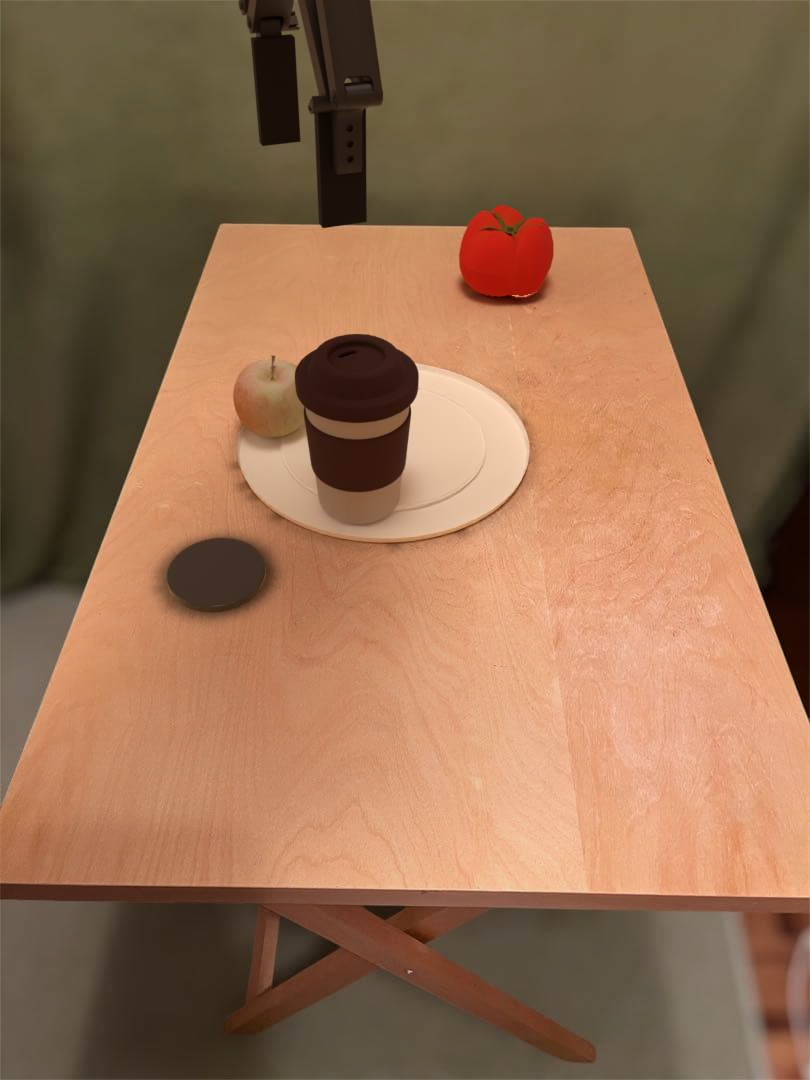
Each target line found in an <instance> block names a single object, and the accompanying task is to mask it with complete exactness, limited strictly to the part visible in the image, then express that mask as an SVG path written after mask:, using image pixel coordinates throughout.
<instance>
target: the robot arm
mask: <svg viewBox="0 0 810 1080" xmlns="http://www.w3.org/2000/svg"><path fill="white" fill-rule="evenodd" d="M294 3H295V0H238V9H239V11H240V12H241V15H242V16H246V27H247V29H248V31H249V33H250V35H253V34H254V35H255V36H253V37H251V36H250V46H251V59H252V70H253V81H254V82H253V83H254V95H255V103H256V104H255V105H256V106H255V107H256V118H257V131H258V141H259V144H260V145H261V146H262V147H267V146H276V145H283V144H285V145H286V144H294V143H300V142H301V126H300V125H301V123H300V108H299V106H300V105H299V89H298V87H299V86H298V71H297V69H298V68H297V51H296V37H295V36H294V35H293V34H292V33H289V34H283V33H282V32H292V31H293V32H294V31H299V30H300V29H301V28H300V26H299V20H298V16H297V14H296V11H295V10H293V8H294ZM297 3H298V7H299V12H300V17H301V21H302V25H303V30H304V34H305V39H306V44H307V48H308V53H309V57H310V62H311V66H312V71H313V75H314V79H315V84H316V88H317V93H318V95H311V98H310V99H309V102H308V105H307V110H308V112H309V114H310V115H313V119H314V121H313V122H314V140H315V141H314V143H315V164H316V187H317V188H316V189H317V190H316V191H317V210H318V224H319V226H321V228H322V229H328V228H335V227H342V226H350V225H356V224H363V223H367V220H368V217H367V216H368V215H367V214H368V212H367V208H368V205H367V204H368V203H367V202H368V201H367V196H368V195H367V109H369V108H373V107H381V106H382V104H383V101H384V89H383V85H382V78H381V77H382V76H381V69H380V63H379V55H378V48H377V41H376V35H375V34H376V33H375V27H374V20H373V18H374V17H373V13H372V5H371V4H372V3H371V0H297ZM347 79H349V80H350V82H346V80H347Z"/></svg>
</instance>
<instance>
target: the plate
mask: <svg viewBox="0 0 810 1080" xmlns="http://www.w3.org/2000/svg"><path fill="white" fill-rule="evenodd" d="M414 363H415V365H416V366H417V369H418V372H419V384H418V393H417V396H416V398H415V400H414V401H413V403H412V404H411V405H410V406H411V421H410V429H409V438H408V447H407V456H406V464H405V468H404V471H403V473H402V479H401V488H400V498H399V501H398V504H397V506H396V507H395V509H394V510H393V511H392V512H391V513H390V514H389V515H387V516H386V517H384V518H382V519H380V520H378V521H375V522H371V523H365V524H352V523H346V522H343V521H340V520H337V519H335V518H333V517H331V516H330V515H329V514H327V513H326V512H325V511H324V509H323V508H322V506H321V504H320V502H319V497H318V491H317V484H316V477H315V473H314V472H313V469H312V466H311V460H310V453H309V447H308V440H307V433H306V427H305V423H304V424H303V425H302V426H301V427H300V428H298V429H297V430H296V431H294V432H292V433H291V434H288V435H286V436H281V437H263V436H259V435H256V434H254V433H252V432H251V431H249V430H248V429H247V428H246V427H245V426H244V425H243V423H242V425H241V426H240V429H239V431H238V436H237V440H236V456H237V461H238V465H239V469H240V472H241V474H242V475H243V477H244V479H245V481H246V483H247V484H248V486H249V488H250V489H251V490H252V492H253V493H254V494H255V496H256V497H257V498H258V499H259V500H260V501H261V502H262V503H263V504H264V505H266V506H267V507H268V508H269V509H270V510H272V511H273V512H275V513H276V514H277V515H279V516H281V517H282V518H284V519H286V520H288V521H289V522H292V523H294V524H296V525H298V526H300V527H302V528H304V529H307V530H310V531H312V532H315V533H318V534H322V535H325V536H329V537H333V538H337V539H341V540H348V541H354V542H367V543H403V542H404V543H405V542H406V543H407V542H413V541H421V540H422V541H423V540H426V539H432V538H436V537H441V536H444V535H448V534H451V533H454V532H457V531H460V530H462V529H464V528H467V527H469V526H472V525H474V524H476V523H477V522H479V521H481V520H484V519H485V518H486V517H488V516H490V515H491V514H492V513H493V512H495V511H497V510H498V509H499V508H500V507H502V506H503V505H504V503H506V501H508V500H509V499H510V498H511V496H512V495H513V494H514V493H515V492H516V490H517V489H518V487H519V485H520V484H521V482H522V479H524V476H525V473H526V471H527V468H528V465H529V460H530V449H531V448H530V440H529V436H528V433H527V430H526V427H525V425H524V423H523V421H522V419H521V418H520V417H519V415H518V414H517V413H516V411H515V410H514V409H513V407H512V406H511V405H510V404H509V403H508V402H506V400H505V399H503V398H502V397H501V396H500V395H499V394H497V393H496V392H495V391H493V390H491V389H490V388H488V387H487V386H485V385H484V384H481V383H480V382H479V381H475V380H473V379H472V378H469V377H468V376H465V375H462V374H459V373H457V372H454V371H451V370H448V369H445V368H441V367H437V366H433V365H428V364H423V363H417V362H414Z"/></svg>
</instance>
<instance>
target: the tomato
mask: <svg viewBox="0 0 810 1080" xmlns="http://www.w3.org/2000/svg"><path fill="white" fill-rule="evenodd" d="M460 242H461V243H460V247H459V254H458V264H459V270H460V274H461V276H462V278H463V280H464V282H465V284H467V285H468V286H469V287H470V288H471V289H472V290H473V291H475V292H476V293H479V292H480V293H479V294H481V293H482V294H481V295H483V294H485V295H484V296H486V297H489V296H488V295H491V296H490V297H494V296H497V297H496V298H498V297H506V296H509V297H511V298H513V299H519V298H518V297H515V296H512V295H519V296H524V295H528V294H532V293H534V292H536V291H538V290H539V291H540V290H541V288H542V286H543V284H544V282H545V280H546V277H547V275H548V273H549V271H550V269H551V267H552V264H553V259H554V255H555V254H554V249H555V248H554V238H553V233H552V230H551V228H550V226H549V225H548V224H547V222H546V221H545V220H544V218H541V217H531V218H528V219H524V217H523V215H522V214H521V213H520V212H519V210H517V209H515V208H512V207H511V206H510V205H501V204H497V205H496V206H494V208H493V209H492V210H491V209H489V210H488V211H487V210H483V209H482V210H480V211H479V212H478V213H477V214H475V216H474V217H473V218H472V219H471V220H469V222H468V224H467V227H466V229H465V231H464V234H463V236H462V239H461V241H460ZM539 291H538V292H539ZM536 293H537V292H536ZM536 293H534V294H532V295H530V296H527V297H521V298H520V299H528V298H529V297H532V296H534V295H535V294H536Z"/></svg>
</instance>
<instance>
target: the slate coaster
mask: <svg viewBox="0 0 810 1080" xmlns="http://www.w3.org/2000/svg"><path fill="white" fill-rule="evenodd" d="M266 579H267V566H266V561H265V557H264V556H263V555H262V553H261V552H260V551H259V550H258V548H256V547H255V546H254V545H252V544H250V543H248V542H247V541H244V540H242V539H237V538H232V537H213V538H206V539H202V540H200V541H197V542H194V543H192V544H190V545H188V546H187V547H185V548H183V549H182V550H181V551H179V552H178V553H177V554H176V555H175V556H174V557H173V559H172V560H171V561H170V563H169V565H168V567H167V571H166V584H167V589H168V591H169V593H170V596H172V597H171V598H173V599H174V600H175V601H176V602H177V603H178V604H180V605H181V606H183V607H185V608H187V609H189V610H193V611H195V612H202V613H221V612H226V611H230V610H234V609H237V608H239V607H241V606H243V605H245V604H247V603H249V602H250V601H251V600H252V599H254V598H255V597H256V596H257V595H258V594H259V593H260V592H261V590H262V589H263V587H264V585H265V583H266Z"/></svg>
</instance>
